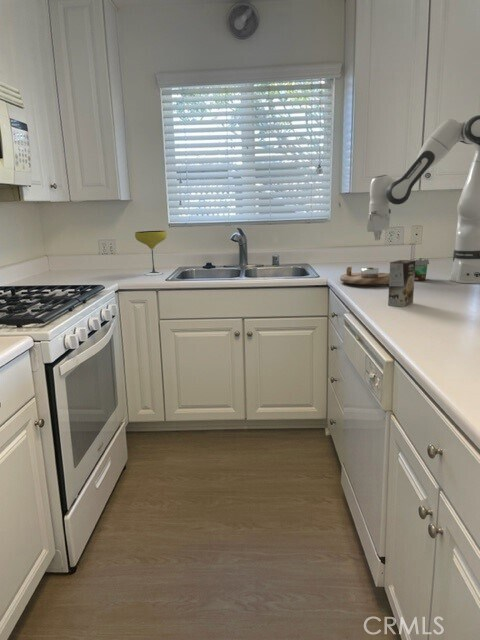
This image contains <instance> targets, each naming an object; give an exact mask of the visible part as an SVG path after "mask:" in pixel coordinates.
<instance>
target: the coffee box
mask: <svg viewBox="0 0 480 640" xmlns="http://www.w3.org/2000/svg"><path fill="white" fill-rule="evenodd" d="M415 261H416V260H408V259H407V260H406V259H405V260H404V259H399V260H394V261H391V262H389V273H390V275H389V284H388V299H387V305H388V306H394V307H402V308H403V307H407V306H409V305H411V304H413V302H414V293H415V290H414V289H415V281H414V277H415Z"/></svg>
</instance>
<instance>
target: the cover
mask: <svg viewBox="0 0 480 640" xmlns="http://www.w3.org/2000/svg"><path fill="white" fill-rule="evenodd" d="M379 271H380V268H378V267H370V266H369V267H362V268H360V273H361V277H362V278H378V273H380V272H379Z"/></svg>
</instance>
